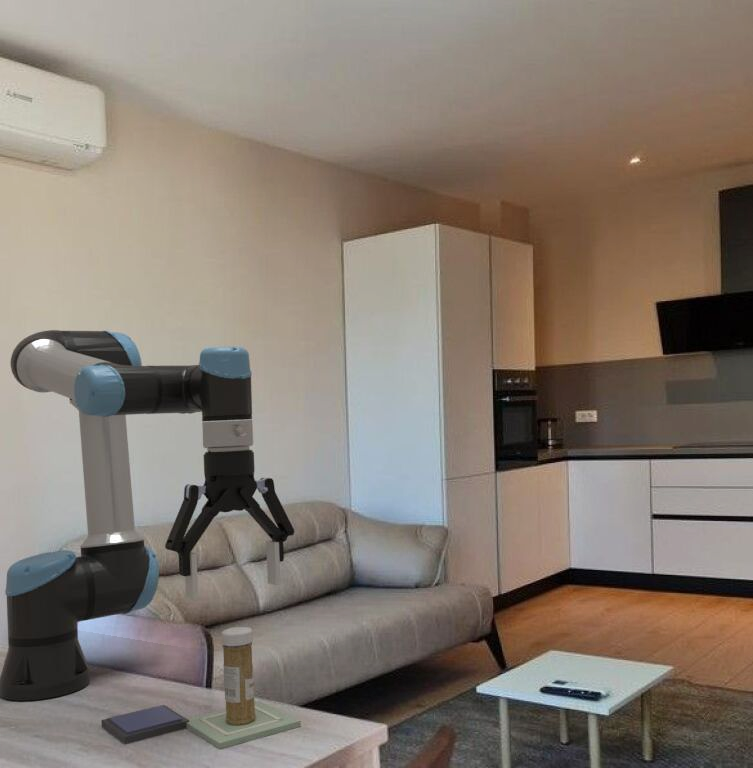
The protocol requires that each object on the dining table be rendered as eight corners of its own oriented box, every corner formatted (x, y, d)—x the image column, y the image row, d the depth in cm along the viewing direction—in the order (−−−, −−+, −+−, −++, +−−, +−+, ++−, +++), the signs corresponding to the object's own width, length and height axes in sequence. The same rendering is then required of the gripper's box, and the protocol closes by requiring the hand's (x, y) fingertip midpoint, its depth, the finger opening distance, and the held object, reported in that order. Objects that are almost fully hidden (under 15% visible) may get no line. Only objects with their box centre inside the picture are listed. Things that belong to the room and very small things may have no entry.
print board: (182, 725, 132) (182, 719, 132) (259, 705, 140) (259, 699, 140) (219, 749, 122) (219, 742, 122) (300, 726, 129) (300, 719, 129)
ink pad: (101, 726, 134) (101, 717, 134) (164, 711, 140) (163, 702, 140) (124, 744, 126) (123, 735, 126) (189, 727, 131) (189, 718, 132)
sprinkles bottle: (261, 720, 130) (257, 629, 131) (232, 728, 128) (228, 635, 128) (248, 713, 134) (244, 624, 135) (220, 719, 132) (216, 629, 132)
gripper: (158, 455, 122) (164, 608, 122) (312, 444, 137) (318, 581, 136) (139, 454, 128) (145, 600, 128) (288, 444, 143) (293, 575, 142)
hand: (234, 590), depth 132 cm, fingers open, 13 cm apart
